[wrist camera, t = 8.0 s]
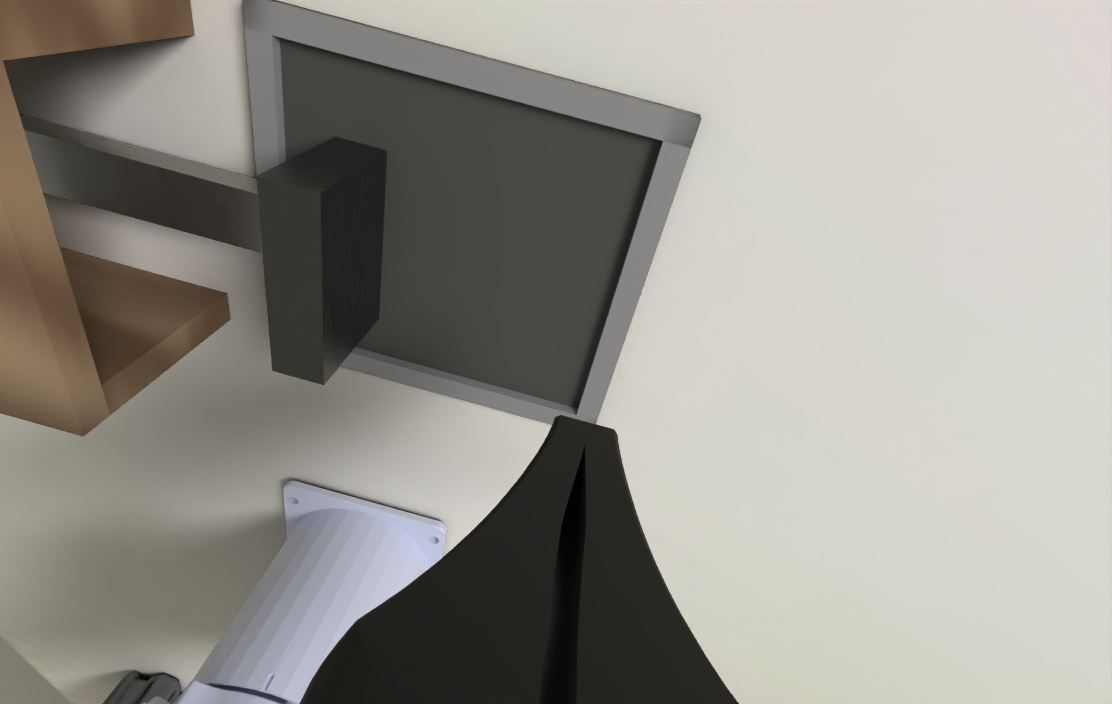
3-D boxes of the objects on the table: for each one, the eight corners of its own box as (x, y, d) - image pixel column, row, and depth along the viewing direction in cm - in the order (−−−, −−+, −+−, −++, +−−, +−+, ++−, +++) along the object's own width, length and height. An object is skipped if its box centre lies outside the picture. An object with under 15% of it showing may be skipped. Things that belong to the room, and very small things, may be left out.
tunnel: (230, 319, 23) (83, 436, 17) (38, 266, 23) (-173, 365, 17) (188, -12, 17) (-70, -3, 11) (-79, -84, 17) (-477, -113, 11)
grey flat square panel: (593, 425, 23) (591, 436, 22) (279, 338, 23) (270, 346, 23) (700, 114, 16) (701, 119, 16) (254, -6, 16) (242, -5, 16)
